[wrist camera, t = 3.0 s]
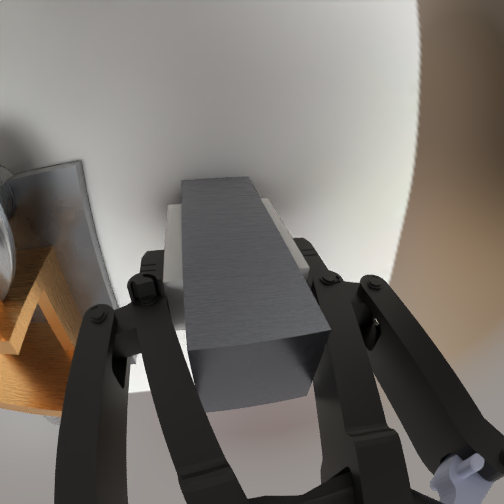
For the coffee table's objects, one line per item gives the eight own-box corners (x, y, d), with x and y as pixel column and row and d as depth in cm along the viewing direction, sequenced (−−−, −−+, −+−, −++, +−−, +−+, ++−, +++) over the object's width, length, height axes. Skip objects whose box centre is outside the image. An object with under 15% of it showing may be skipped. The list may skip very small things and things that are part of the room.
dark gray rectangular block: (181, 180, 17) (187, 350, 7) (248, 176, 18) (331, 329, 8) (185, 238, 19) (201, 412, 10) (246, 233, 20) (306, 395, 10)
